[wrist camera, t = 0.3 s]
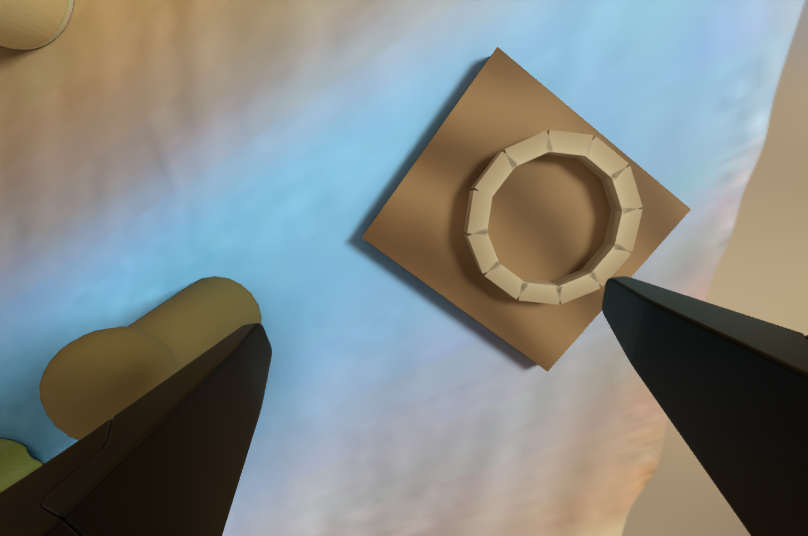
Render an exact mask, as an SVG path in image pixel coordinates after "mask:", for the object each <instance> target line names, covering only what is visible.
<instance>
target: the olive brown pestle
mask: <svg viewBox="0 0 808 536" xmlns="http://www.w3.org/2000/svg"><path fill="white" fill-rule="evenodd" d="M250 323H260V324H261V314H260V310H259V306H258V304H257V302H256V300H255V299H254V297H253V296H252V294H251V293H250V292H249V291H248V290H247V289H246V288H245V287H243V286H242V285H241V284H239V283H237V282H235V281H233V280H231V279H229V278H222V277H208V278H202V279H200V280H198V281H196V282H195V283H193V284H191V285H189V286H188V287H186V288H185V289H183V290H182V291H180V292H179V293H177V294H176V295H174V296H173V297H171V298H170V299H168V300H167V301H165V302H164V303H162V304H161V305H159V306H158V307H156V308H155V309H153V310H152V311H150V312H149V313H148V314H146V315H145V316H143V317H142V318H140V319H139V320H137V321H136V322H134V323H133V324H131V325H130V326H128V327H117V328H110V329H104V330H97V331H94V332H91V333H89V334H86V335H84V336H82V337H80V338H78V339H76V340H74V341H73V342H71V343H69V344H68V345H66V346H65V347H64V348H62V349H61V350H60V351H59V352H58V353H57V354H56V355H55V356H54V358H53V359H52V360H51V361H50V362H49V364H48V366H47V367H46V369H45V371H44V373H43V376H42V379H41V382H40V400H41V402H42V405H43V407H44V410H45V412H46V414H47V415H48V417H49V418H50V419H51V421H52V422H53V423H54V424H55V426H56V427H58V428H59V429H60V430H62V431H63V432H64V433H66V434H67V435H68V436H70V437H72V438H75V439H77V440H81V439H82V438H83V437H85V436H86V435H88V434H89V433H91V432H92V431H94V430H95V429H96V428H98V427H99V426H101V425H102V424H103V423H105V422H106V421H108V420H109V419H113V417H114V416H115V415H116V414H118V413H119V412H121V411H122V410H123V409H125V408H126V407H128V406H129V405H131V404H132V403H133V402H135V401H136V400H138V399H139V398H140V397H142V396H143V395H145V394H146V393H147V392H149V391H150V390H152V389H153V388H155V387H156V386H157V385H159V384H160V383H162V382H163V381H164V380H166V379H167V378H169V377H170V376H172V375H173V374H174V373H176V372H177V371H179V370H180V369H181V368H183V367H184V366H186V365H187V364H189V363H190V362H191V361H193V360H194V359H196V358H197V357H198V356H200V355H201V354H203V353H204V352H206V351H207V350H208V349H210V348H211V347H213V346H214V345H215V344H217V343H218V342H220V341H221V340H223V339H224V338H225V337H227V336H228V335H230V334H231V333H232V332H234V331H235V330H237V329H238V328H239V327H241V326H242V325H244V324H250Z"/></svg>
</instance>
